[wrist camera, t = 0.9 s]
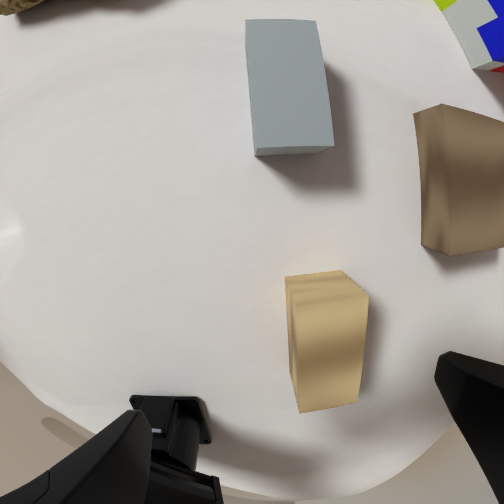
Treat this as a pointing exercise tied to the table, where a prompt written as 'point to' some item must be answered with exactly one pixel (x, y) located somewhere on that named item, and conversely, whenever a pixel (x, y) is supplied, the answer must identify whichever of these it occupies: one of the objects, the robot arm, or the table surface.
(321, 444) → the table surface
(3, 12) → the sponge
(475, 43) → the puzzle toy
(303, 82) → the grey block
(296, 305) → the oak block
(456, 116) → the walnut block
